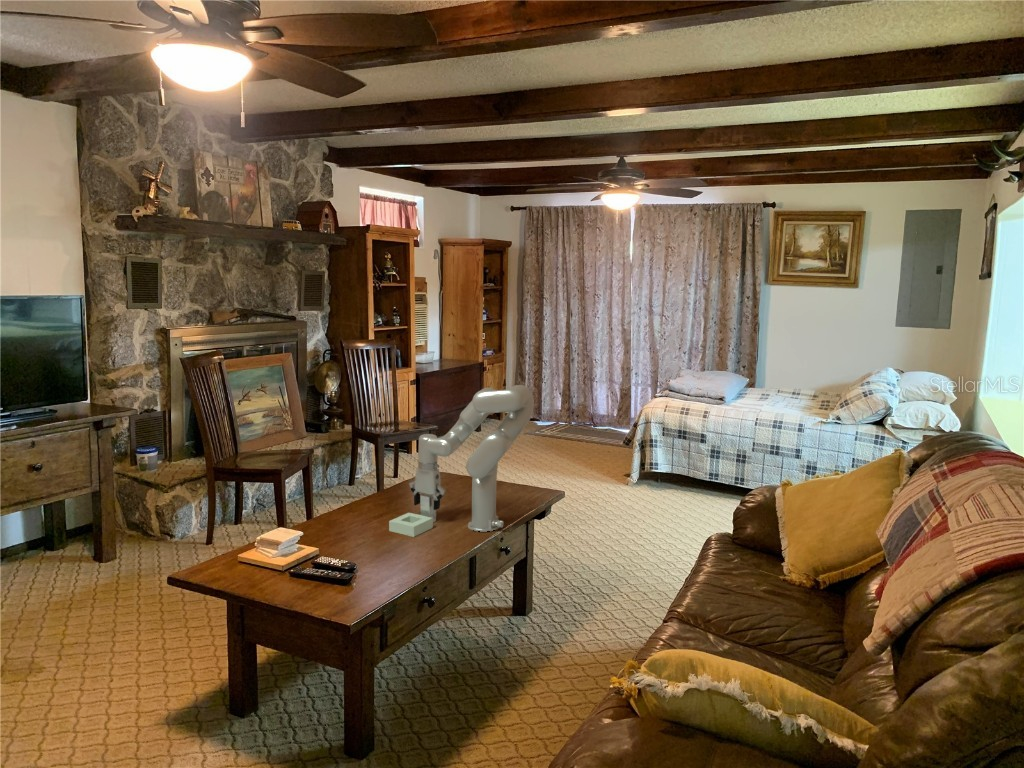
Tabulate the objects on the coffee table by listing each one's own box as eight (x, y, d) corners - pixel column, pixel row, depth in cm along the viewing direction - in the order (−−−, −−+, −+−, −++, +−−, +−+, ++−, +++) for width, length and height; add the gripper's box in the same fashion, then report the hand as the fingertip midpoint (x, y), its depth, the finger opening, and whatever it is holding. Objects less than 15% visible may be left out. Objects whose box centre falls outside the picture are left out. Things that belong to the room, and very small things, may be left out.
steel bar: (435, 520, 290) (435, 494, 288) (429, 523, 286) (429, 497, 285) (427, 518, 292) (427, 492, 290) (420, 521, 288) (420, 495, 287)
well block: (432, 527, 282) (432, 517, 281) (413, 536, 272) (413, 526, 271) (408, 522, 288) (408, 512, 287) (389, 530, 278) (389, 521, 277)
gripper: (451, 467, 285) (449, 508, 287) (416, 459, 293) (415, 500, 296) (439, 471, 278) (438, 513, 281) (404, 463, 287) (403, 504, 289)
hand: (426, 506), depth 288 cm, fingers open, 9 cm apart
